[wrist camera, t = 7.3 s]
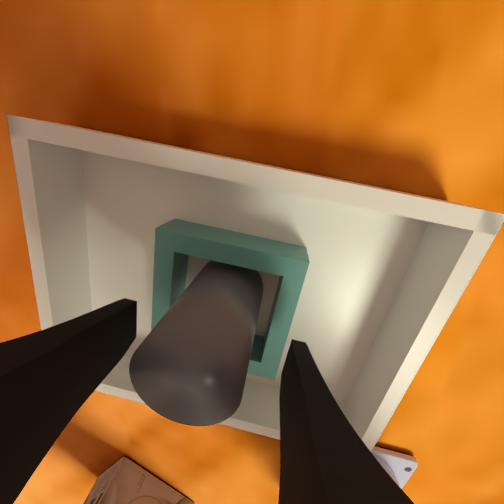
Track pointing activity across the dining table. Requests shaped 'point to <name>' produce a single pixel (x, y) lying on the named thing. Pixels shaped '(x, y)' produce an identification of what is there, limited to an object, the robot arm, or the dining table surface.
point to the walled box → (248, 258)
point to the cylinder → (201, 348)
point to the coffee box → (132, 487)
